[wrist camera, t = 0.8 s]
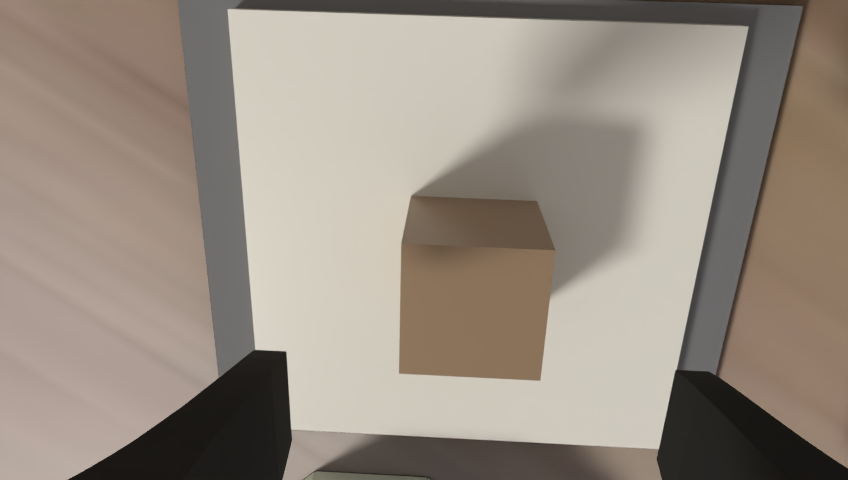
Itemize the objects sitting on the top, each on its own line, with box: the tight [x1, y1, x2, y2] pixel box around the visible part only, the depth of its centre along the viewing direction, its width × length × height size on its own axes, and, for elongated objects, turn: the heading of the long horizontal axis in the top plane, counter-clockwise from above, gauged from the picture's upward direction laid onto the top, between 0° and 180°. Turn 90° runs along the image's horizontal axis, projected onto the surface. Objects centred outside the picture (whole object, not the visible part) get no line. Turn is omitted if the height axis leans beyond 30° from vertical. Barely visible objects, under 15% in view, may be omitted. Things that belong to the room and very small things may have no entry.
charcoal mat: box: [178, 0, 803, 449], centre depth 19 cm, size 16×14×1 cm
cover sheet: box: [228, 8, 749, 449], centre depth 17 cm, size 13×13×4 cm
